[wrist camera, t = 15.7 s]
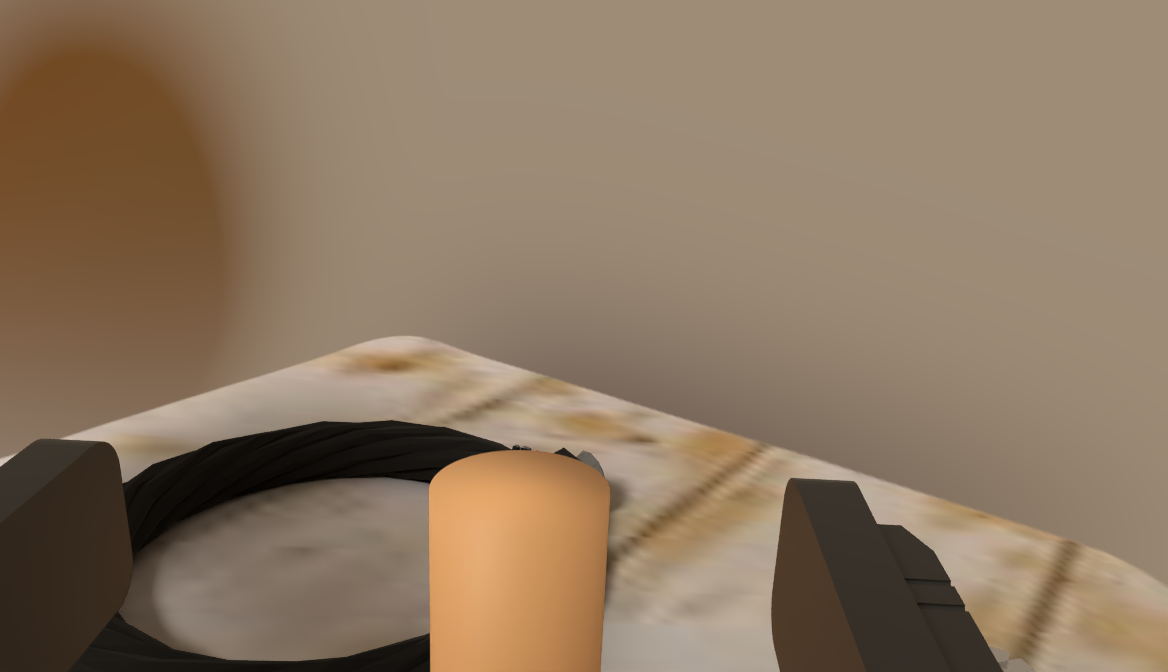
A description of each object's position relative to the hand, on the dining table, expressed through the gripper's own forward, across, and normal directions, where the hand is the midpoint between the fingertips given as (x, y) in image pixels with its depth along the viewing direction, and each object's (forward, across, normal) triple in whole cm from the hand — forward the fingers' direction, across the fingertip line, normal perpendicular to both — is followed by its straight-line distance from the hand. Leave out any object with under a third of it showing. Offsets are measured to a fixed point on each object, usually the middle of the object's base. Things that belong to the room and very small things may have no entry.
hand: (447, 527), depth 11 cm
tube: (+10, 0, +21) cm, 23 cm away
